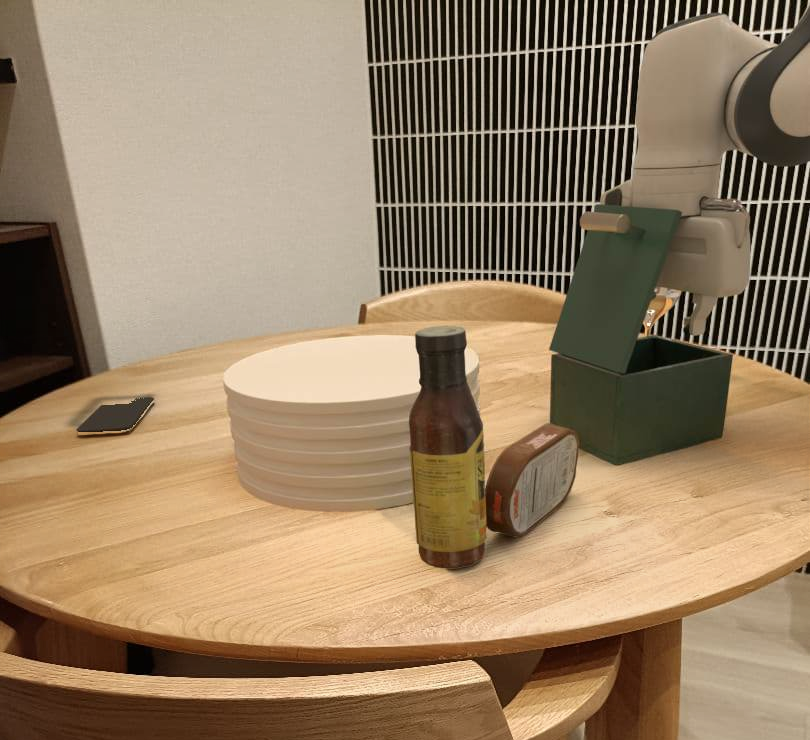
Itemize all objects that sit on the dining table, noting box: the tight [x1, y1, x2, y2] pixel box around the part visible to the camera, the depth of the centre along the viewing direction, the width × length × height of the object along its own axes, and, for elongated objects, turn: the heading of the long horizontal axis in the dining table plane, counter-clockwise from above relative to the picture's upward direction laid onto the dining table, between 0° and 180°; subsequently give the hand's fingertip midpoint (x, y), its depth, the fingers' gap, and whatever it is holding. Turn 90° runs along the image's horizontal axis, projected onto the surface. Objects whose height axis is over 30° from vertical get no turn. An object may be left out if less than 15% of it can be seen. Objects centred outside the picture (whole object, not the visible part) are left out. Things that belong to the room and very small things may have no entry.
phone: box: [75, 396, 155, 432], centre depth 115 cm, size 7×1×15 cm
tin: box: [485, 422, 580, 538], centre depth 77 cm, size 15×3×8 cm, turn 145°
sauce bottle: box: [409, 325, 488, 570], centre depth 69 cm, size 6×6×20 cm
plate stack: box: [222, 334, 481, 513], centre depth 93 cm, size 28×28×12 cm
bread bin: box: [549, 334, 734, 466], centre depth 96 cm, size 16×13×10 cm
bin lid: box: [548, 203, 682, 374], centre depth 87 cm, size 16×13×5 cm
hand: (663, 327), depth 93 cm, fingers open, 8 cm apart
